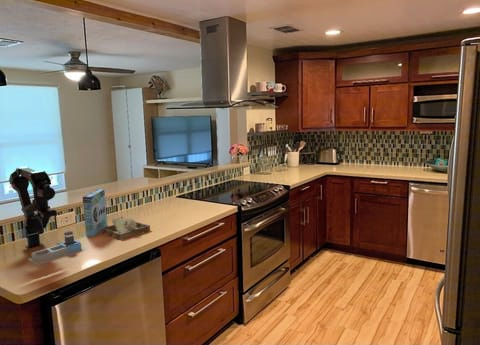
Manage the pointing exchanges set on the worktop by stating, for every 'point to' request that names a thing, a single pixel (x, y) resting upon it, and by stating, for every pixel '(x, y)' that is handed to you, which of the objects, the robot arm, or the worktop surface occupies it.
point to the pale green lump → (124, 224)
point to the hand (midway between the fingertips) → (44, 228)
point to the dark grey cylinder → (69, 238)
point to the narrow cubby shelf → (55, 252)
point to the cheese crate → (140, 226)
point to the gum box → (95, 212)
